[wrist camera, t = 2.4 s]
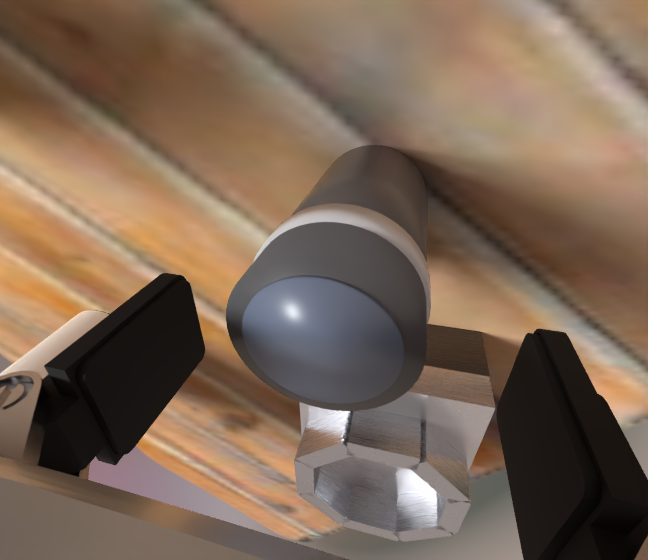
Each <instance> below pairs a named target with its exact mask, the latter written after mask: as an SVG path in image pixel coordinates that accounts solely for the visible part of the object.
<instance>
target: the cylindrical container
mask: <svg viewBox="0 0 648 560" xmlns="http://www.w3.org/2000/svg"><path fill="white" fill-rule="evenodd" d="M108 315H109V314H107V313H104V312H101V311H95V310H87V311H83V312H80V313H79V314H78V315H76V316H75V317H74V318H72V319H71V320H70V321H68V322H67V323H66V324H64V325H63V326H62V327H60V328H59V329H58V330H56V331H55V332H54V333H53V334H51V335H50V336H49V337H47V338H46V339H45V340H43V341H42V342H41V343H39V344H38V345H37V346H36V347H34V348H33V349H32V350H30V351H29V352H28V353H26V354H25V355H24V356H22V357H21V358H20V359H19V360H17V361H16V362H15V363H13V364H12V365H11V366H9V367H8V368H7V369H5V370H4V371H3V372H1V373H0V376H3V375H6V374H8V373H12V372H17V371H33V372H36V373H38V374H39V375H40V376H41V378H42V379H43V378H45V377H46V376H47V375H48V372H47V371H46V369H45V367H44V365H45V364H47V363H48V362H49V361H51V360H52V359H53V358H54V357H56V356H57V355H58V354H60V353H61V352H62V351H63V350H65V349H66V348H67V347H69V346H70V345H71V344H72V343H74V342H75V341H76V340H77V339H79V338H80V337H81V336H83V335H84V334H85V333H86V332H88V331H89V330H90V329H92V328H93V327H94V326H95V325H97V324H98V323H99V322H100V321H102V320H103V319H104V318H106V317H107V316H108Z"/></svg>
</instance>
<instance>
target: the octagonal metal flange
mask: <svg viewBox="0 0 648 560" xmlns="http://www.w3.org/2000/svg"><path fill="white" fill-rule="evenodd" d="M299 404H300V419H301V434H302V438H301V441H300V444H299V448H298V451H297V454H296V457H295V460H294V464H295V475H296V485H297V492H298V493H300V496H301V497H302V498H304V499H305V500H306V501H308V502H309V503H310V504H312V505H313V506H314V507H316V508H317V509H319V510H320V511H321V512H323V513H324V514H325V515H327V516H328V517H329V518H331V519H332V520H333V521H335V522H336V523H337V524H341V523H343V526H344V527H348V528H351V529H355V530H359V531H362V532H366V533H370V534H373V535H377V536H381V537H385V538H388V539H392V540H395V541H398V539H400V540H402V541H403V542H406V541H413V540H422V539H430V538H438V537H446V536H453V533H455V534H457V532H458V530H459V528H460V526H461V524H462V521H463V519H464V517H465V515H466V513H467V511H468V509H469V507H470V505H471V499H470V489H469V478H468V472H469V469H470V467H471V465H472V462H473V460H474V458H475V455H476V453H477V451H478V448H479V446H480V444H481V441H482V439H483V436H484V434H485V432H486V429H487V427H488V425H489V422H490V420H491V418H492V415H493V413H494V410H495V403H494V398H493V392H492V387H491V382H490V377H489V371H488V366H487V361H486V356H485V350H484V345H483V340H482V335H481V332H476V331H469V330H463V329H456V328H449V327H443V326H436V325H429V324H427V353H426V361H425V365H424V368H423V371H422V373H421V375H420V377H419V379H418V380H417V382H416V383H415V384H414V385H413V387H412V388H411V389H410V390H409V391H407V392H406V393H405V394H404V395H402V396H401V397H399V398H398V399H396V400H395V401H392V402H390V403H388V404H386V405H383V406H380V407H377V408H372V409H368V410H360V411H336V410H328V409H322V408H318V407H314V406H310V405H307V404H304V403H301V402H299Z"/></svg>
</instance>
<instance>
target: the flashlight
mask: <svg viewBox="0 0 648 560" xmlns="http://www.w3.org/2000/svg"><path fill="white" fill-rule="evenodd" d="M430 308H431V299H430V274H429V270H428V265H427V192H426V186H425V182H424V179H423V177H422V175H421V173H420V171H419V169H418V168H417V167H416V165H415V164H414V163H413V162H412V161H411V160H410V159H409V158H408V157H406V156H405V155H404V154H402V153H400V152H399V151H397V150H394V149H392V148H389V147H385V146H378V145H368V146H362V147H358V148H355V149H353V150H350V151H348V152H347V153H345V154H343V155H342V156H341V157H339V158H338V159H337V160H336V161H335V162H334V163H333V164H332V166H331V167H330V168H329V169H328V171H327V172H326V173H325V174H324V175H323V177H322V178H321V179H320V180H319V182H318V183H317V184H316V185H315V187H314V188H313V189H312V190H311V192H310V193H309V194H308V195H307V197H306V198H305V199H304V200H303V202H302V203H301V204H300V205H299V207H298V208H297V209H296V210H295V212H294V213H293V214H292V215H291V216H290V217H289V218H287V219H286V220H285V221H284V222H282V223H281V224H280V225H279V226H278V228H277V229H276V230H275V231H274V232H273V233H272V235H271V236H270V237H269V238H268V239H267V241H266V242H265V243H264V244H263V245H262V247H261V248H260V250H259V251H258V253H257V255H256V257H255V259H254V262H253V264H252V265H251V266H250V268H249V269H248V270H247V271H246V272H245V274H244V275H243V276H242V277H241V279H240V280H239V281H238V282H237V284H236V286H235V287H234V289H233V290H232V292H231V295H230V297H229V300H228V304H227V309H226V321H227V329H228V332H229V336H230V339H231V341H232V343H233V346H234V348H235V350H236V351H237V353H238V355H239V356H240V358H241V359H242V360H243V362H244V363H245V364H246V365H247V366H248V368H249V369H250V370H251V371H252V372H253V373H254V374H255V375H256V376H257V377H259V378H260V379H261V380H262V381H263V382H265V383H266V384H267V385H269V386H270V387H272V388H273V389H275V390H276V391H278V392H280V393H282V394H283V395H285V396H287V397H289V398H291V399H294V400H296V401H299V402H301V403H304V404H307V405H310V406H314V407H318V408H322V409H328V410H336V411H360V410H368V409H372V408H377V407H380V406H383V405H386V404H388V403H390V402H392V401H395V400H396V399H398V398H399V397H401V396H402V395H404V394H405V393H406V392H407V391H409V390H410V389H411V388H412V387H413V385H414V384H415V383H416V382H417V380H418V379H419V377H420V375H421V373H422V371H423V368H424V365H425V361H426V353H427V323H428V320H429V316H430Z"/></svg>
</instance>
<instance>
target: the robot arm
mask: <svg viewBox="0 0 648 560" xmlns="http://www.w3.org/2000/svg"><path fill="white" fill-rule="evenodd" d="M204 353H205V345H204V341H203V337H202V333H201V328H200V324H199V320H198V315H197V311H196V307H195V302H194V298H193V294H192V290H191V286H190V283H189V282H188V281H186V279H185V278H184V276H181V275H175V274H168V273H163V274H161V275H159V276H158V277H157V278H156V279H154V280H153V281H152V282H150V283H149V284H148V285H147V286H145V287H144V288H143V289H141V290H140V291H139V292H138V293H136V294H135V295H134V296H132V297H131V298H130V299H129V300H127V301H126V302H125V303H124V304H122V305H121V306H120V307H118V308H117V309H116V310H115V311H113V312H112V313H111V314H109V315H108V316H107V317H106V318H104V319H103V320H102V321H100V322H99V323H98V324H97V325H95V326H94V327H93V328H92V329H90V330H89V331H88V332H86V333H85V334H84V335H83V336H81V337H80V338H79V339H77V340H76V341H75V342H74V343H72V344H71V345H70V346H69V347H67V348H66V349H65V350H63V351H62V352H61V353H60V354H58V355H57V356H56V357H54V358H53V359H52V360H51V361H49V362H48V363H47V364H45V365H44V367H45V369H46V371H47V372H48V375H47V376H46V377H45V378H43V379H42V378H41V376H40V375H39V374H38V373H36V372H33V371H17V372H12V373H8V374H6V375H3V376H0V560H349V559H345V558H342V557H339V556H335V555H333V554H329V553H326V552H323V551H320V550H317V549H313V548H310V547H307V546H304V545H300V544H297V543H294V542H290V541H287V540H284V539H281V538H278V537H274V536H271V535H268V534H264V533H261V532H258V531H255V530H252V529H248V528H245V527H242V526H238V525H235V524H232V523H229V522H225V521H222V520H219V519H216V518H212V517H209V516H206V515H203V514H199V513H196V512H193V511H190V510H186V509H183V508H180V507H176V506H173V505H170V504H167V503H163V502H160V501H157V500H153V499H150V498H147V497H143V496H140V495H136V494H133V493H130V492H126V491H123V490H120V489H116V488H113V487H109V486H106V485H103V484H100V483H96V482H93V481H90V480H88V475H89V465H90V464H89V463H90V462H91V461H92V460H93V459H94V457H95V456H96V457H97V459H98V460H99V461H102V462H106V463H109V464H113V465H116V464H117V463H118V462H119V460H120V459H121V458H122V456H123V455H124V454H128V453H129V452H130V451H131V450H132V449H133V448H134V447H135V446H136V444H137V443H138V442H139V440H140V439H141V438H142V437H143V435H144V434H145V433H146V431H147V430H148V429H149V427H150V426H151V425H152V424H153V422H154V421H155V420H156V418H157V417H158V416H159V414H160V413H161V412H162V411H163V409H164V408H165V407H166V405H167V404H168V403H169V402H170V400H171V399H172V398H173V396H174V395H175V394H176V392H177V391H178V390H179V389H180V387H181V386H182V385H183V383H184V382H185V381H186V379H187V378H188V377H189V376H190V374H191V373H192V372H193V370H194V369H195V368H196V367H197V365H198V364H199V363H200V361H201V360H202V358H203V356H204ZM497 422H498V428H499V433H500V438H501V443H502V449H503V454H504V459H505V464H506V470H507V474H508V480H509V485H510V491H511V496H512V501H513V507H514V512H515V517H516V522H517V527H518V533H519V538H520V543H521V549H522V553H523V558H524V560H648V480H647V477H646V475H645V474H644V472H643V470H642V468H641V466H640V464H639V462H638V460H637V458H636V457H635V455H634V453H633V451H632V449H631V447H630V445H629V443H628V441H627V439H626V437H625V436H624V434H623V432H622V430H621V428H620V426H619V424H618V422H617V420H616V418H615V416H614V415H613V413H612V411H611V409H610V407H609V405H608V403H607V402H606V400H605V399H604V398H603V397H602V396H601V395H599V394H597V392H596V390H595V388H594V386H593V384H592V382H591V380H590V379H589V377H588V375H587V373H586V371H585V369H584V367H583V365H582V363H581V361H580V359H579V357H578V355H577V353H576V351H575V349H574V347H573V345H572V343H571V341H570V339H569V337H568V336H567V334H566V333H564V332H558V331H551V330H545V329H537V330H536V331H535V332H534V334H532V333H528V334H527V335H526V336H525V338H524V341H523V343H522V346H521V348H520V351H519V353H518V356H517V358H516V361H515V363H514V366H513V368H512V371H511V373H510V376H509V378H508V381H507V383H506V386H505V388H504V391H503V393H502V396H501V398H500V401H499V403H498V406H497Z"/></svg>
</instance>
